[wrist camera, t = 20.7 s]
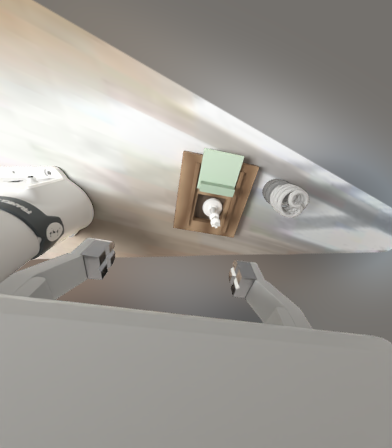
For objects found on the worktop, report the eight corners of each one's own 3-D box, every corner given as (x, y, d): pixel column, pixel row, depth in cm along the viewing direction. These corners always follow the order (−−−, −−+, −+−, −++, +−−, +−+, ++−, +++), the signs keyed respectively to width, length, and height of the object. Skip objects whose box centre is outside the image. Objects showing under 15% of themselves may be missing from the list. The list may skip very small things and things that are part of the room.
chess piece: (202, 198, 38) (203, 216, 30) (222, 197, 38) (229, 215, 29) (202, 216, 41) (204, 238, 32) (222, 215, 40) (228, 237, 32)
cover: (196, 187, 35) (196, 191, 32) (204, 147, 31) (205, 149, 28) (231, 193, 35) (234, 198, 32) (243, 155, 31) (248, 157, 29)
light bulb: (284, 191, 38) (317, 212, 27) (261, 202, 39) (284, 226, 29) (278, 170, 35) (312, 184, 25) (253, 182, 37) (276, 200, 26)
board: (174, 222, 42) (172, 229, 39) (184, 150, 33) (183, 151, 31) (231, 232, 43) (234, 239, 41) (255, 165, 35) (260, 167, 32)
